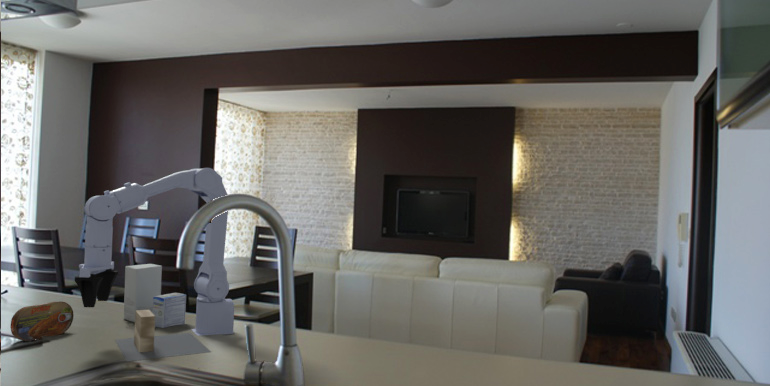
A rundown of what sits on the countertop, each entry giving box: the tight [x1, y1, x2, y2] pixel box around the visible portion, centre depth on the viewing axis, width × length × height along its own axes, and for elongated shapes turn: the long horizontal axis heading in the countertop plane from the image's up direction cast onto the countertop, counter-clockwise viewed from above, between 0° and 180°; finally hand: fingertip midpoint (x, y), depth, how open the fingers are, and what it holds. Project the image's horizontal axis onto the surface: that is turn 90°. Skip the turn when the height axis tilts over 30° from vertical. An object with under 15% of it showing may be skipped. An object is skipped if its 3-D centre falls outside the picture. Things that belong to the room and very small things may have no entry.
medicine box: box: [153, 292, 187, 329], centre depth 155 cm, size 8×4×9 cm, turn 154°
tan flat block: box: [133, 310, 156, 352], centre depth 131 cm, size 3×8×8 cm, turn 32°
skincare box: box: [123, 263, 163, 323], centre depth 163 cm, size 8×7×16 cm
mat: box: [114, 332, 212, 362], centre depth 133 cm, size 18×20×1 cm
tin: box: [10, 301, 74, 342], centre depth 139 cm, size 15×3×8 cm, turn 157°
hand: (96, 303), depth 132 cm, fingers open, 7 cm apart
